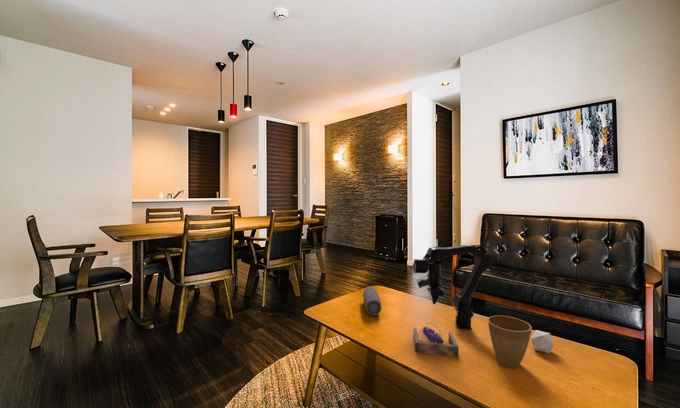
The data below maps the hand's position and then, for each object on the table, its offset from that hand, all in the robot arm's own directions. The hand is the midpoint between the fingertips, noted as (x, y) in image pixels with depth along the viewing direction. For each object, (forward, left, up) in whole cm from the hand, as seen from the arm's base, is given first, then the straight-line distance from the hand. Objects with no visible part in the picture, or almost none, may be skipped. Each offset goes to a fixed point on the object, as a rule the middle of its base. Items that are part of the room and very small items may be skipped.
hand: (433, 303), depth 146 cm
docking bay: (+2, +19, -12) cm, 22 cm away
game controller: (+3, +19, -12) cm, 23 cm away
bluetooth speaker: (+32, -15, -12) cm, 37 cm away
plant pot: (-25, +27, -12) cm, 38 cm away
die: (-43, +14, -12) cm, 47 cm away
